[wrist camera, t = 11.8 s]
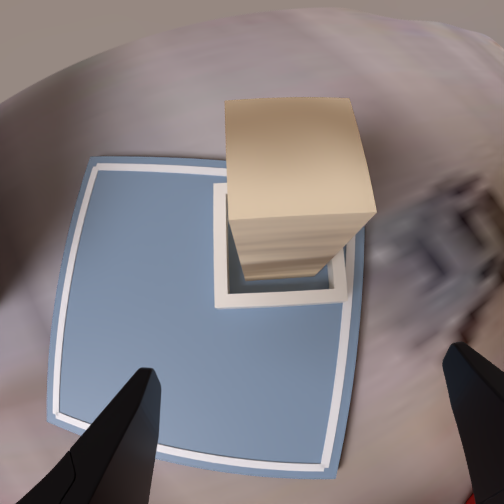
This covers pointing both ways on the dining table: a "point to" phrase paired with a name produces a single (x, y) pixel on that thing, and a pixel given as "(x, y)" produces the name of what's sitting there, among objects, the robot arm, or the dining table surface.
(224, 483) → the dining table surface
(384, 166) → the dining table surface
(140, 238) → the board
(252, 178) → the maple pillar
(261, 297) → the collar
